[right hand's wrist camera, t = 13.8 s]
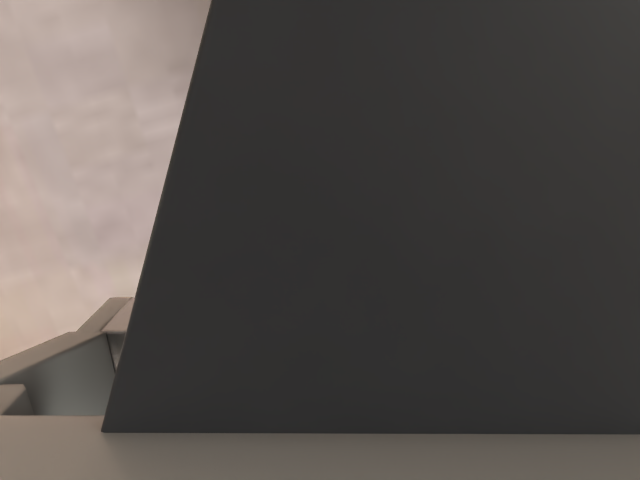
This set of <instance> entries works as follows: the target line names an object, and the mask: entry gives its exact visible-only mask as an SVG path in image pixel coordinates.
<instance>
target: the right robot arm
mask: <svg viewBox="0 0 640 480" xmlns="http://www.w3.org/2000/svg"><path fill="white" fill-rule="evenodd" d="M134 299H135V298H133V297H115V298H110V299H109V300H108V301H106V302H105V303H104V304H103V305H102V306H101V307H100V308H99V309H98V310H97V311H96V312H95V313H94V314H93V315H92V316H91V317H90V318H89V319H88V320H87V321H86V322H85V323H84V324H83V325H82V326H81V327H80V328H79V329H78V330H77V331H76V332H68V333H65V334H63V335H61V336H58V337H56V338H54V339H51V340H49V341H46V342H44V343H42V344H39V345H37V346H35V347H32V348H30V349H27V350H25V351H23V352H20V353H18V354H16V355H13V356H11V357H8V358H6V359H4V360H1V361H0V480H640V435H621V434H314V433H103V432H101V427H102V423H103V420H104V416H105V412H106V408H107V404H108V400H109V396H110V392H111V389H112V385H113V381H114V377H115V373H116V369H117V365H118V361H119V358H120V354H121V350H122V346H123V342H124V338H125V334H126V330H127V327H128V323H129V319H130V315H131V311H132V307H133V303H134Z"/></svg>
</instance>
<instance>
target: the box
mask: <svg viewBox="0 0 640 480" xmlns="http://www.w3.org/2000/svg"><path fill="white" fill-rule="evenodd" d="M101 432H103V433H314V434H621V435H640V0H212V1H211V5H210V8H209V12H208V16H207V20H206V24H205V28H204V32H203V36H202V40H201V43H200V47H199V51H198V55H197V59H196V63H195V67H194V71H193V74H192V78H191V82H190V86H189V90H188V94H187V98H186V102H185V105H184V109H183V113H182V117H181V121H180V125H179V129H178V133H177V136H176V140H175V144H174V148H173V152H172V156H171V160H170V164H169V167H168V171H167V175H166V179H165V183H164V187H163V191H162V195H161V199H160V202H159V206H158V210H157V214H156V218H155V222H154V226H153V230H152V233H151V237H150V241H149V245H148V249H147V253H146V257H145V261H144V264H143V268H142V272H141V276H140V280H139V284H138V288H137V292H136V295H135V299H134V303H133V307H132V311H131V315H130V319H129V323H128V327H127V330H126V334H125V338H124V342H123V346H122V350H121V354H120V358H119V361H118V365H117V369H116V373H115V377H114V381H113V385H112V389H111V392H110V396H109V400H108V404H107V408H106V412H105V416H104V420H103V423H102V427H101Z"/></svg>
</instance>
